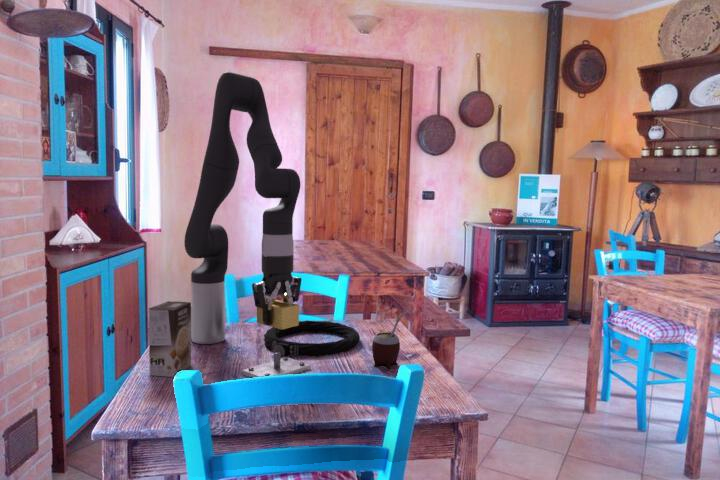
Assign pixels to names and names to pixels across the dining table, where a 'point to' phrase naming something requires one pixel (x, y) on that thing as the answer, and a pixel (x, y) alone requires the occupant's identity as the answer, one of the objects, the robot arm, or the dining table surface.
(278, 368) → the plate
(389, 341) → the mate gourd
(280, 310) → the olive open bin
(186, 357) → the coffee box
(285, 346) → the cable lock
